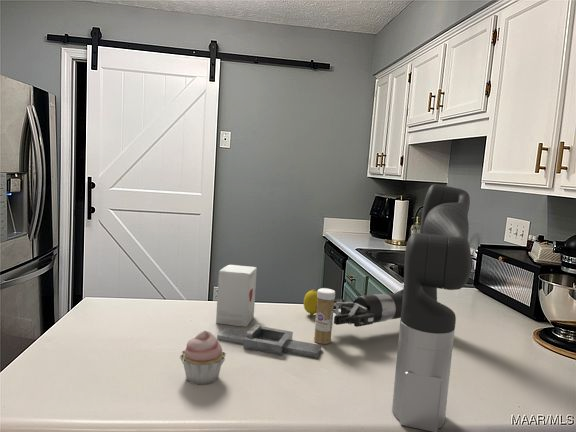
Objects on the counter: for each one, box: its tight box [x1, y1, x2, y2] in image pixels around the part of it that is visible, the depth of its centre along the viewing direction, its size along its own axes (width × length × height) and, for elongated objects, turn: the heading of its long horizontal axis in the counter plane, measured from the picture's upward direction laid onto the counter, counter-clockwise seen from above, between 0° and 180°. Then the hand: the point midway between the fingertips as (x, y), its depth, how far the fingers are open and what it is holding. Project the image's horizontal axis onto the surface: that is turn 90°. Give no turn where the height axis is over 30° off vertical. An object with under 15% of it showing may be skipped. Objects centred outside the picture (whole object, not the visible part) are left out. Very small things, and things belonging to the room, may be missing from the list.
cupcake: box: [179, 330, 227, 385], centre depth 84 cm, size 9×9×10 cm
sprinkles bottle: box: [313, 287, 336, 345], centre depth 106 cm, size 5×5×13 cm
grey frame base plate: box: [216, 323, 322, 359], centre depth 102 cm, size 10×26×3 cm, turn 74°
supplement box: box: [215, 264, 258, 328], centre depth 117 cm, size 9×9×15 cm
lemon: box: [303, 289, 318, 316], centre depth 125 cm, size 6×6×8 cm
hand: (325, 314), depth 106 cm, fingers open, 8 cm apart
